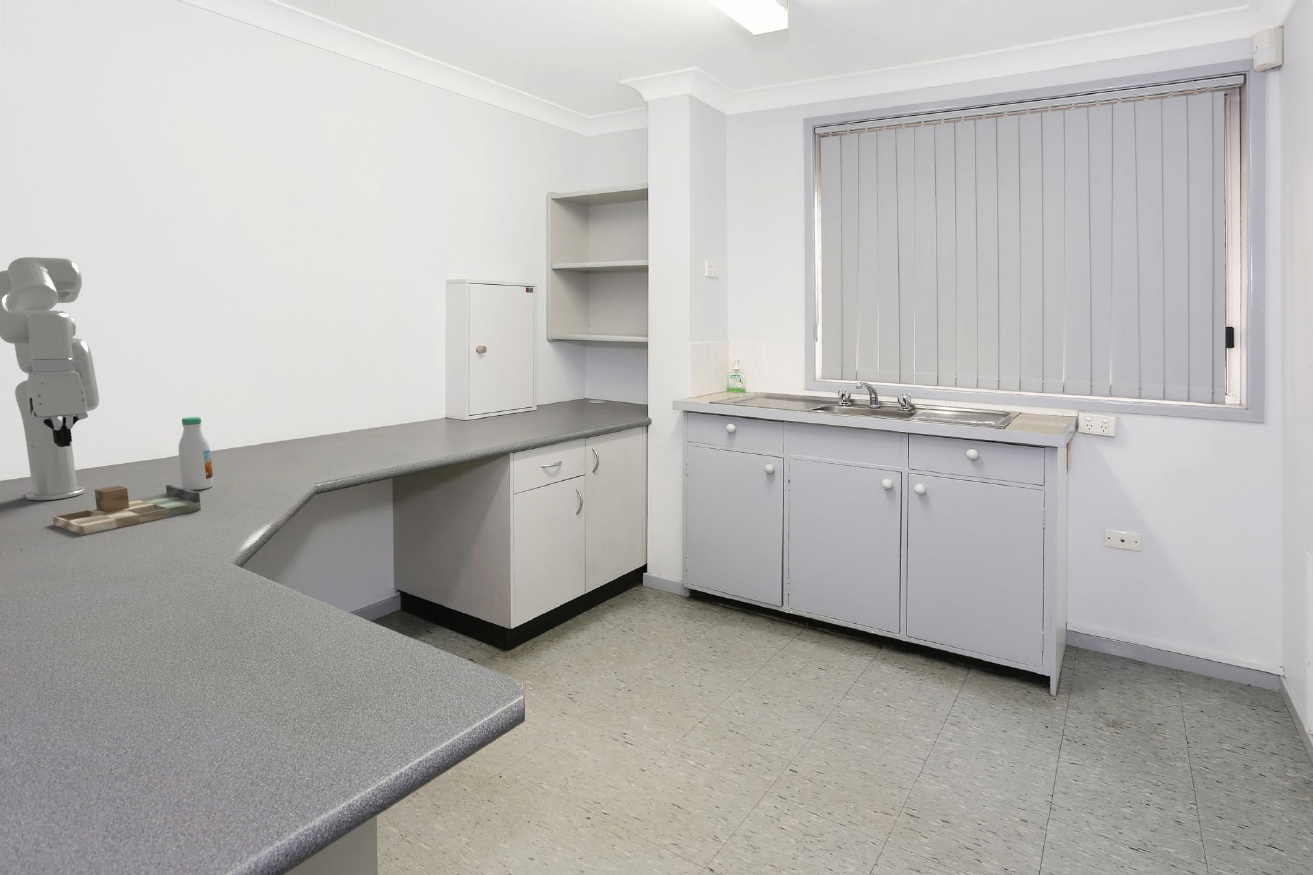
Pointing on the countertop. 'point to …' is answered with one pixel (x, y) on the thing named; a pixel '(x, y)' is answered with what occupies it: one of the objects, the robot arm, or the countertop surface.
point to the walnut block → (111, 498)
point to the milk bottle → (194, 456)
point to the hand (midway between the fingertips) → (63, 445)
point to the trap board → (131, 512)
